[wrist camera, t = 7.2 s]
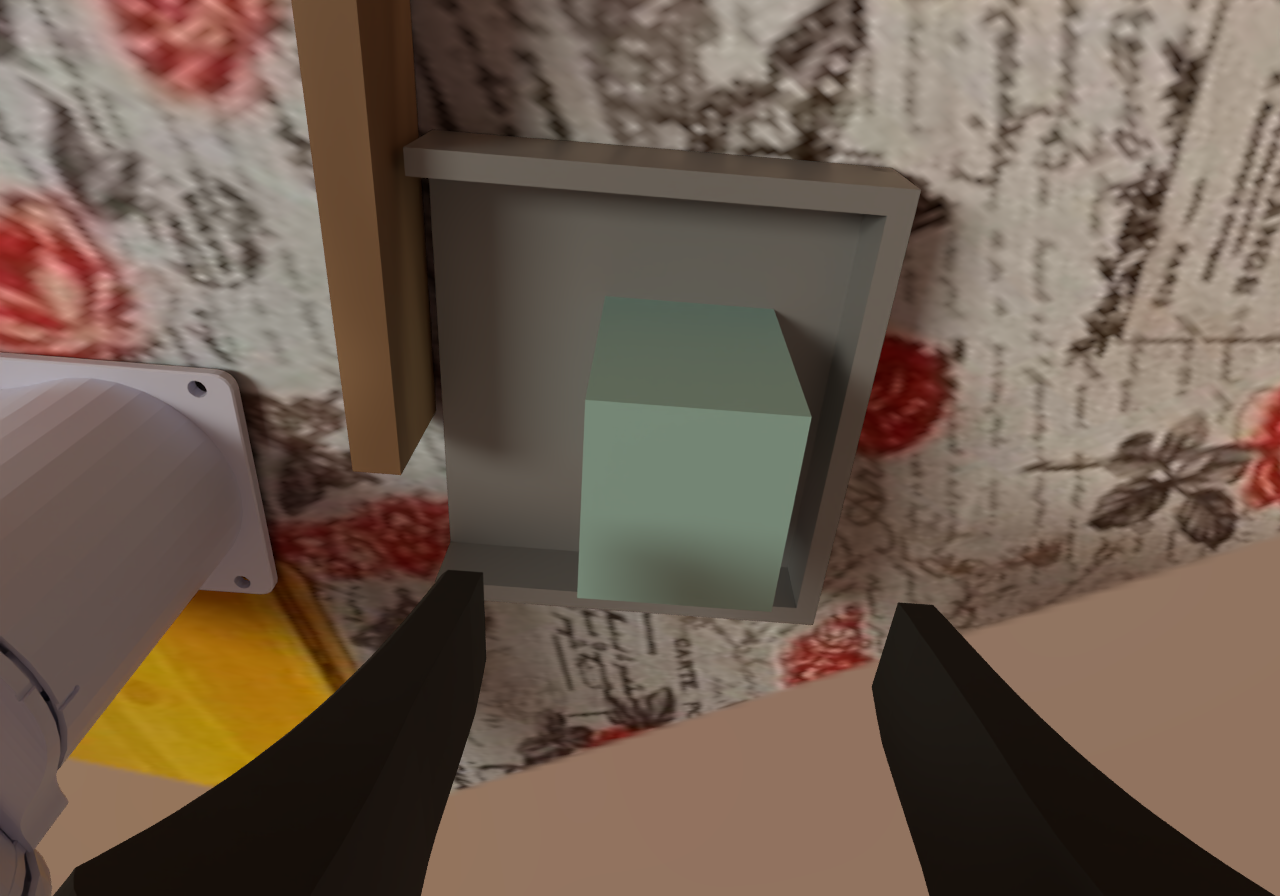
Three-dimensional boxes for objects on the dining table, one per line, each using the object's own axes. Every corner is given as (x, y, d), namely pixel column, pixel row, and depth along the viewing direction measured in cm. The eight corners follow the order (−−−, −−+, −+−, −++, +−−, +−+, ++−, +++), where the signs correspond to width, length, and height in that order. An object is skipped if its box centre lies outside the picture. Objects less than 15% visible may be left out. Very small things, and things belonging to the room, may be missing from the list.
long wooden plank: (393, 407, 23) (344, 481, 19) (324, -329, 15) (220, -428, 11) (437, 410, 23) (395, 485, 19) (389, -323, 15) (306, -421, 11)
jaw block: (596, 460, 23) (576, 598, 18) (604, 296, 20) (585, 399, 15) (747, 471, 23) (771, 612, 18) (774, 309, 20) (811, 417, 15)
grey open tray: (455, 545, 25) (436, 596, 23) (432, 129, 19) (403, 146, 17) (800, 571, 25) (813, 625, 23) (891, 167, 19) (921, 190, 17)
